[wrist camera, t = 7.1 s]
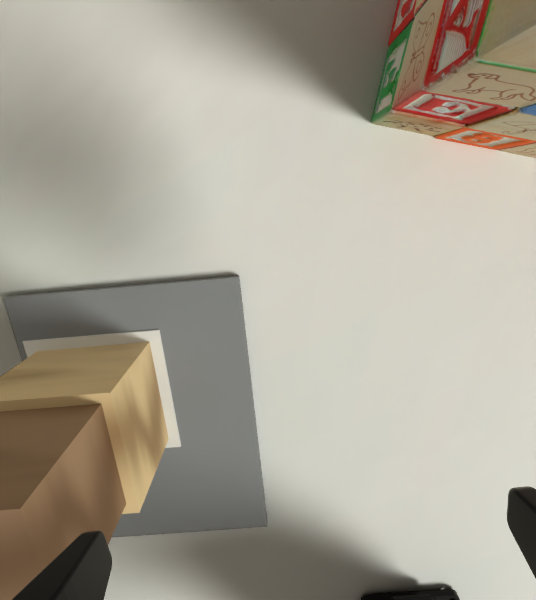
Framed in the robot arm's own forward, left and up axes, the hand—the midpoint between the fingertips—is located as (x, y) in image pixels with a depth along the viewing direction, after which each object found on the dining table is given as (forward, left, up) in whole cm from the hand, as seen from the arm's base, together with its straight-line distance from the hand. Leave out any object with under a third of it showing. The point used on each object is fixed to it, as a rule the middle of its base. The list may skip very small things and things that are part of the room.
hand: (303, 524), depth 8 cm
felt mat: (-5, +8, -12) cm, 15 cm away
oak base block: (-3, +10, -11) cm, 15 cm away
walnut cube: (-3, +10, -6) cm, 12 cm away
